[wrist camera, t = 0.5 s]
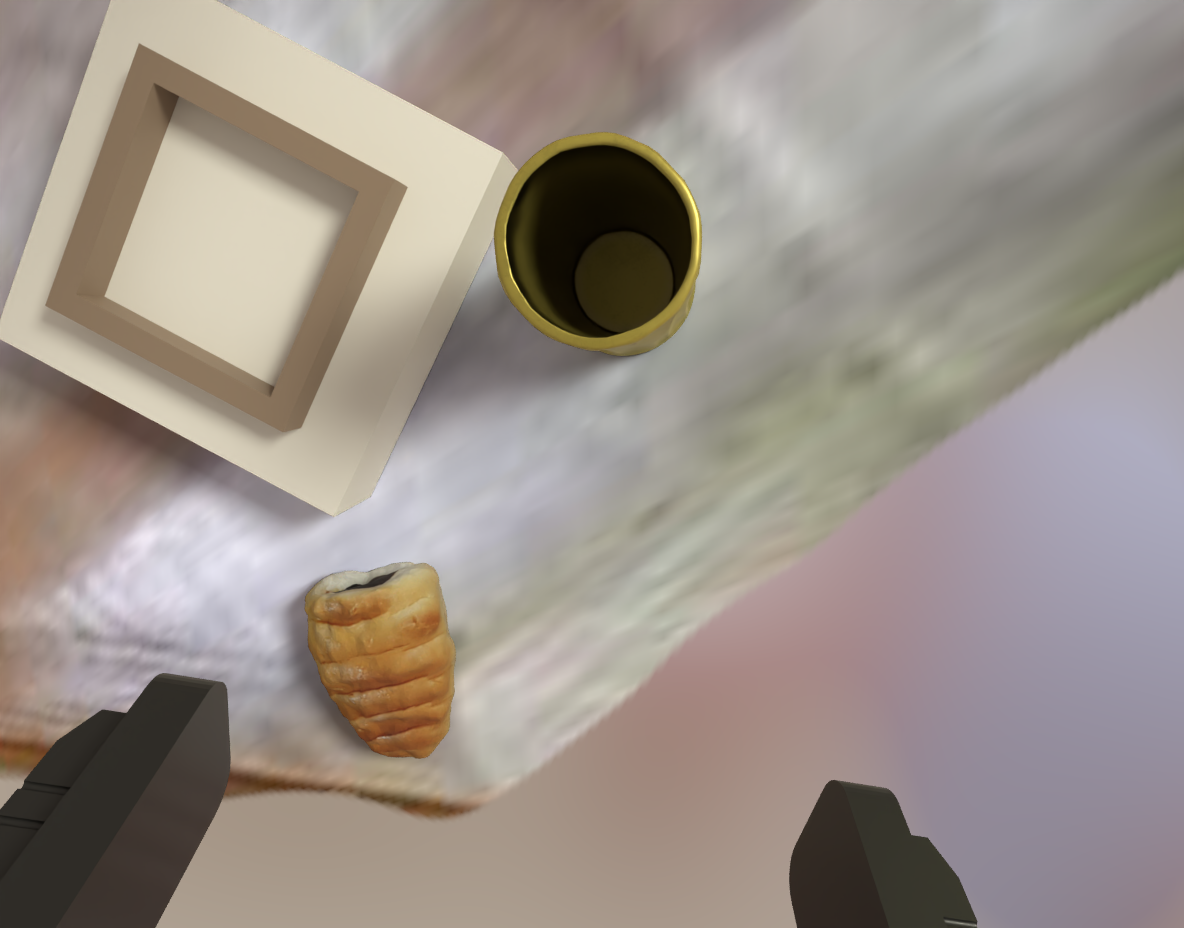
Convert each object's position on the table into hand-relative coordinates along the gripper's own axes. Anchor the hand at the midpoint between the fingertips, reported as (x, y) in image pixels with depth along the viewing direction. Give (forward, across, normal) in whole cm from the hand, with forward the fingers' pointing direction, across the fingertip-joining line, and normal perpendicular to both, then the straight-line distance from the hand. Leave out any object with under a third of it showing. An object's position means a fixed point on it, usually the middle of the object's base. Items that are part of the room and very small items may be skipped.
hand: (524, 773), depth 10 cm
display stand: (+27, +13, +2) cm, 30 cm away
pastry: (+21, +6, +18) cm, 28 cm away
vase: (+26, -2, 0) cm, 26 cm away
